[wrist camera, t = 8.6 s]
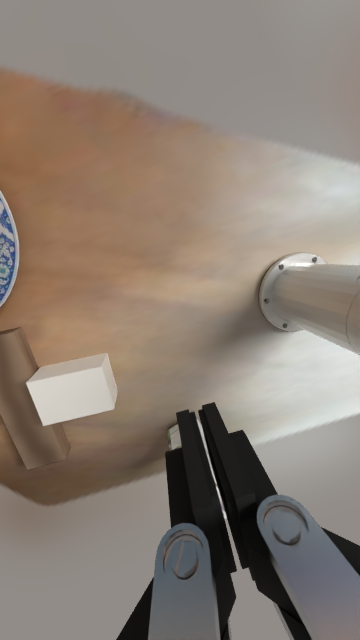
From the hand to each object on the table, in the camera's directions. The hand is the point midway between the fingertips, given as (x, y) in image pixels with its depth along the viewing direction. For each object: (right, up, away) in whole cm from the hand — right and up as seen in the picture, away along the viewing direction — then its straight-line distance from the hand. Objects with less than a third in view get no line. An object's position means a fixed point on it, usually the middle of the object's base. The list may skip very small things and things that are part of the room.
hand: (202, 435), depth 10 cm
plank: (-25, -7, +27) cm, 37 cm away
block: (-17, -4, +28) cm, 33 cm away
